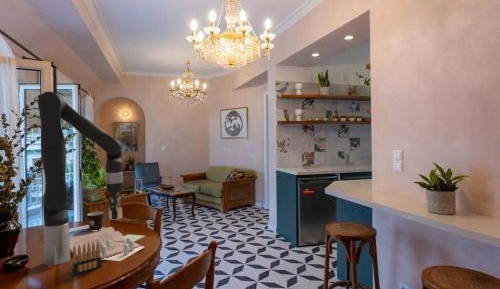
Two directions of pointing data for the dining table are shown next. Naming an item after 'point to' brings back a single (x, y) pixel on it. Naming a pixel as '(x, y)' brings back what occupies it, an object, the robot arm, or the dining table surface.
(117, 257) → the spacer plate
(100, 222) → the coffee mug
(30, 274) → the dining table surface
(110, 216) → the brass nut
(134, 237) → the rubber mat
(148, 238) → the dining table surface
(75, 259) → the ammunition clip
